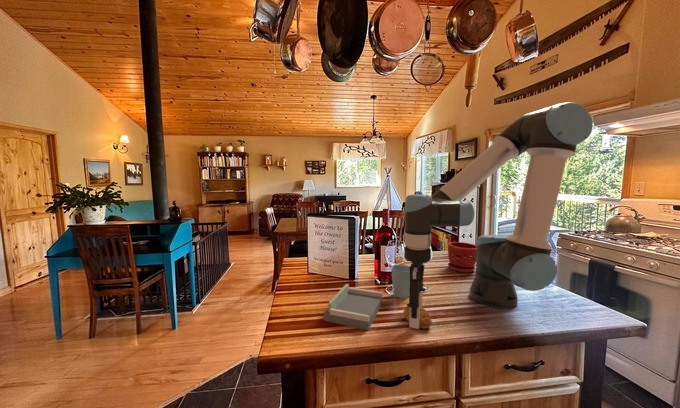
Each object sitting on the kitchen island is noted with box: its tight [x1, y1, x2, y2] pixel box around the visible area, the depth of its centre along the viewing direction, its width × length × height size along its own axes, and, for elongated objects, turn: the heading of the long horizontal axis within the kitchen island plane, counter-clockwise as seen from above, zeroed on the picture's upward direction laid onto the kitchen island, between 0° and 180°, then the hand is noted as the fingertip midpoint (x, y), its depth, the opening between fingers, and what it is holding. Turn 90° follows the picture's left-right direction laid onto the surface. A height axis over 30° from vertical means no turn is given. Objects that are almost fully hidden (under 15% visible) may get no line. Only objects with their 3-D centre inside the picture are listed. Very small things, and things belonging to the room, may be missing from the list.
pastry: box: [403, 305, 433, 329], centre depth 84 cm, size 9×7×4 cm
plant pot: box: [447, 241, 477, 273], centre depth 131 cm, size 13×13×12 cm
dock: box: [323, 283, 384, 331], centre depth 91 cm, size 14×18×6 cm
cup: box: [390, 264, 411, 299], centre depth 103 cm, size 8×8×10 cm
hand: (416, 319), depth 85 cm, fingers closed on pastry, 9 cm apart
